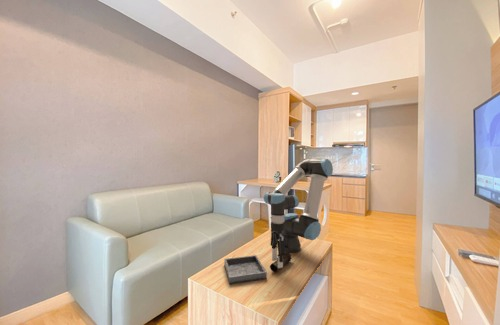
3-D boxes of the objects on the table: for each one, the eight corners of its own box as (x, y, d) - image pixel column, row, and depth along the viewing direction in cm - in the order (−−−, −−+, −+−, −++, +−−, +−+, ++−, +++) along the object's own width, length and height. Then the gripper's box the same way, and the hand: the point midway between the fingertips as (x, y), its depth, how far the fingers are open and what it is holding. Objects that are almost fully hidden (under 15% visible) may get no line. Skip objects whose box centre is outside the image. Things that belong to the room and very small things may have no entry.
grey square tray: (256, 261, 120) (256, 255, 120) (266, 279, 101) (266, 272, 101) (224, 265, 115) (224, 258, 115) (229, 284, 96) (229, 277, 96)
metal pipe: (277, 273, 105) (277, 263, 105) (267, 270, 109) (266, 259, 109) (293, 261, 118) (292, 251, 119) (283, 258, 123) (282, 249, 123)
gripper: (265, 217, 118) (264, 256, 118) (278, 228, 99) (278, 274, 99) (276, 216, 120) (276, 254, 120) (292, 227, 101) (292, 272, 100)
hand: (277, 263), depth 109 cm, fingers closed on metal pipe, 7 cm apart
